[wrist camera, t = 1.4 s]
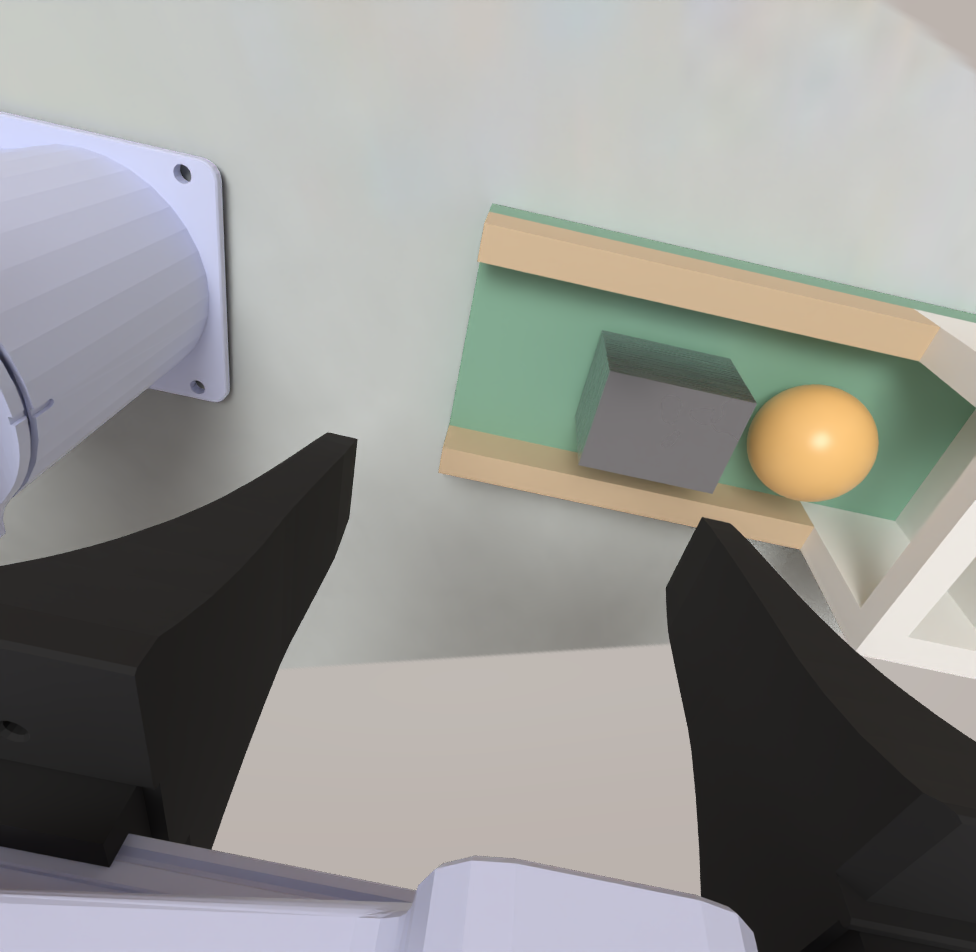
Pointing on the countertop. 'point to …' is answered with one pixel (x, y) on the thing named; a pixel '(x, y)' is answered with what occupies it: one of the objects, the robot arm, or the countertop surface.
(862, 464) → the ball
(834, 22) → the countertop surface
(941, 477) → the pitch
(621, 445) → the block
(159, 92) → the countertop surface
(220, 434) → the countertop surface
